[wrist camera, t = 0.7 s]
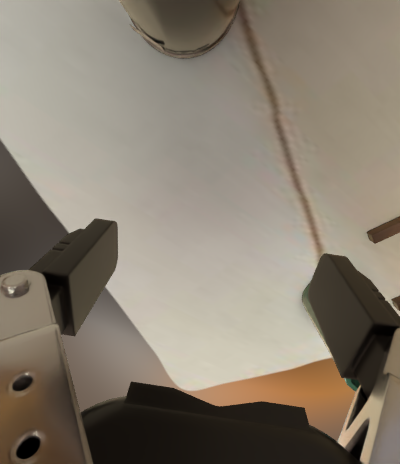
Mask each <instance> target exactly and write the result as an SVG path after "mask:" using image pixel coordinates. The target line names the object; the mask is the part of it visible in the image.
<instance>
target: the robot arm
mask: <svg viewBox="0 0 400 464" xmlns="http://www.w3.org/2000/svg"><path fill="white" fill-rule="evenodd" d="M119 1H120V3H121V4H122V6H123V7H124V9H125V10H126V12H127V13H128V15H129V16H130V18H131V20H132V22H133V24H134V25H135V27H136V28H134V27H133V26H132V25H131V27H132V28H133V29H134V30H135V31H136V32H137V33H139V34H140V35H141V36H142V37H143V38H144V39H145V40H146V41H147V42H148V43H149V44H150V45H151V46H152V47H153V48H155V49H156V50H158V51H159V52H161V53H163V54H165V55H168V56H171V57H175V58H192V57H197V56H200V55H202V54H205V53H206V52H208V51H210V50H211V49H213V48H214V47H215V46H216V45H217V44H219V42H220V41H221V40H222V39H223V38H224V37H225V35H226V34H227V32H228V31H229V29H230V27H231V25H232V24H233V21H234V19H235V16H236V13H237V10H238V7H239V3H240V0H119ZM117 260H118V227H117V223H116V222H115V221H110V220H103V219H94V220H93V221H92V222H91V223H90V224H89V225H88V226H87V227H86V228H85V229H78V230H76V231H74V232H71V233H69V234H67V235H66V236H65V237H64V238H63V239H62V240H61V241H60V242H59V243H58V244H56V246H54V247H53V249H52V250H50V251H49V252H48V253H46V254H45V255H44V256H43V257H42V258H41V259H40V260H39V261H38V262H37V263H36V264H34V265H33V266H32V267H31V268H30V269H29V270H20V271H13V272H9V273H6V274H3V275H1V276H0V464H400V316H399V315H398V314H397V313H396V311H395V310H394V309H393V308H392V306H391V305H390V304H389V303H388V302H387V301H385V298H384V297H383V295H382V294H381V293H380V292H378V291H379V290H378V289H377V288H376V287H375V285H374V284H373V283H372V282H371V280H369V279H368V278H367V277H365V276H364V275H363V274H361V273H360V272H359V271H357V270H356V268H355V267H354V266H353V265H352V263H351V262H350V261H349V259H348V258H347V257H345V256H339V255H332V254H323V255H322V256H321V258H320V260H319V263H318V265H317V268H316V270H315V273H314V275H313V278H312V280H311V283H310V285H309V290H308V299H309V302H310V305H311V307H312V309H313V312H314V314H315V316H316V319H317V321H318V323H319V326H320V328H321V331H322V333H323V335H324V338H325V340H326V342H327V345H328V347H329V349H330V352H331V354H332V356H333V359H334V361H335V364H336V366H337V368H338V370H339V373H340V375H341V377H342V378H347V379H354V380H358V381H359V383H360V386H359V388H358V389H357V391H356V393H355V396H354V398H353V401H352V404H351V407H350V409H349V412H348V415H347V418H346V421H345V424H344V426H343V429H342V432H341V434H340V437H339V439H338V442H337V441H335V440H334V439H333V438H331V437H330V436H328V435H327V434H325V433H323V432H322V431H320V430H318V429H317V428H315V427H313V426H311V425H309V423H308V419H307V415H306V412H305V408H302V407H295V406H289V405H282V404H276V403H269V402H254V403H246V404H238V405H230V406H223V407H222V406H220V407H219V406H214V405H212V404H209V403H207V402H205V401H202V400H200V399H197V398H195V397H193V396H191V395H188V394H186V393H184V392H182V391H179V390H177V389H174V388H170V387H163V386H156V385H150V384H143V383H137V382H131V383H130V387H129V390H128V393H127V396H125V397H118V398H113V399H109V400H106V401H104V402H101V403H98V404H96V405H94V406H92V407H90V408H88V409H86V410H84V411H83V412H81V413H80V409H79V405H78V401H77V397H76V393H75V389H74V385H73V381H72V377H71V373H70V369H69V365H68V361H67V357H66V353H65V349H64V345H63V341H62V337H61V335H62V334H64V335H71V336H75V335H76V334H77V332H78V330H79V329H80V327H81V325H82V324H83V322H84V320H85V319H86V317H87V315H88V314H89V312H90V310H91V309H92V307H93V305H94V304H95V302H96V301H97V299H98V297H99V295H100V294H101V292H102V291H103V289H104V287H105V286H106V284H107V282H108V281H109V279H110V277H111V276H112V274H113V272H114V271H115V268H116V265H117Z"/></svg>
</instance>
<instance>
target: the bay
mask: <svg viewBox="0 0 400 464" xmlns="http://www.w3.org/2000/svg"><path fill="white" fill-rule="evenodd" d="M399 232H400V217H398V218H396V219H394V220H392V221H390V222H388V223H385V224H383V225H381V226H379V227H377V228H375V229H373V230H371V231H369V232H367V233H368V236H369V239H370V241H372V242H373V243H378V242H380V241H382V240H384V239H386V238H389V237H391V236H393V235H395V234H397V233H399ZM392 301H393V304H394V306H395V307H396V308H397V309H398V310H399V311H400V296H399V297H397V298H394V299H392Z"/></svg>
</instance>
